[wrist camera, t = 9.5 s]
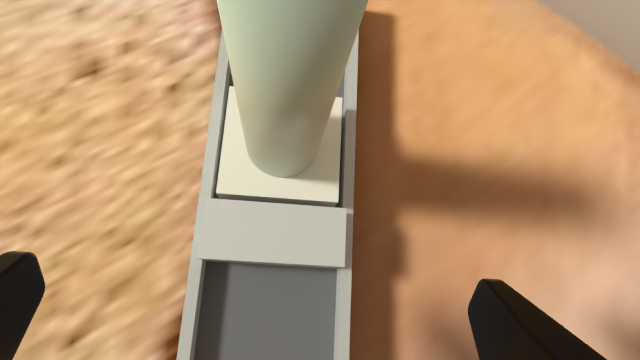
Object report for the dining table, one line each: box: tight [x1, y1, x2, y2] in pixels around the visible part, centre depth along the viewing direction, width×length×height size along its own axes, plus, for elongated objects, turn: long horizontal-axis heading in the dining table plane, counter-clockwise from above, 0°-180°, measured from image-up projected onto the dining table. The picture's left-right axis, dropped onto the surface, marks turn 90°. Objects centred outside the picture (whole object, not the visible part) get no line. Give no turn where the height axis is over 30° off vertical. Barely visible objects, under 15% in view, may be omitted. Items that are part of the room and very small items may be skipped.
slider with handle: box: [216, 0, 368, 207], centre depth 12 cm, size 5×5×14 cm
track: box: [177, 29, 359, 360], centre depth 19 cm, size 20×7×4 cm, turn 177°
